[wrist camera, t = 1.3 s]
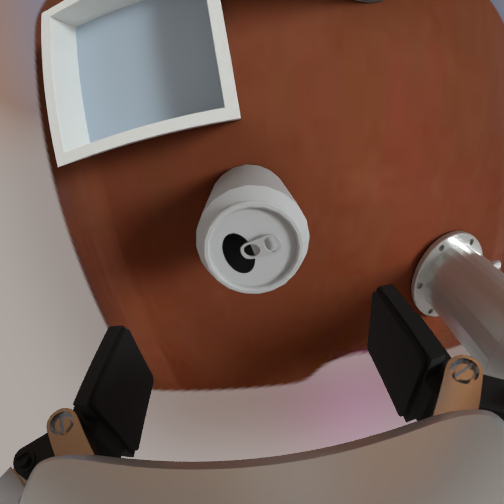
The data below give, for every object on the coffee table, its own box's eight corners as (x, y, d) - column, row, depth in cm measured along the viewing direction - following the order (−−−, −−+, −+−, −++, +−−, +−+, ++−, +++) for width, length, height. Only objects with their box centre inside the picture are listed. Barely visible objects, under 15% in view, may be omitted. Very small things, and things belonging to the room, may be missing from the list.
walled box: (216, -22, 19) (211, -50, 13) (240, 119, 25) (240, 118, 20) (71, 26, 19) (41, 13, 14) (88, 157, 26) (57, 167, 20)
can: (197, 182, 28) (170, 222, 17) (269, 151, 27) (290, 170, 16) (229, 247, 31) (224, 318, 20) (297, 220, 30) (329, 279, 19)
